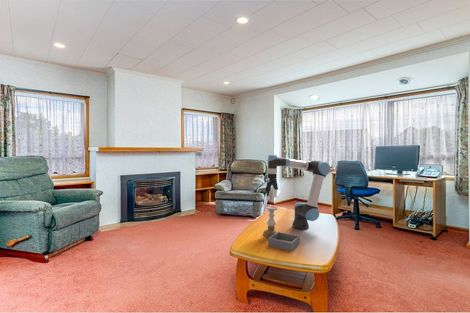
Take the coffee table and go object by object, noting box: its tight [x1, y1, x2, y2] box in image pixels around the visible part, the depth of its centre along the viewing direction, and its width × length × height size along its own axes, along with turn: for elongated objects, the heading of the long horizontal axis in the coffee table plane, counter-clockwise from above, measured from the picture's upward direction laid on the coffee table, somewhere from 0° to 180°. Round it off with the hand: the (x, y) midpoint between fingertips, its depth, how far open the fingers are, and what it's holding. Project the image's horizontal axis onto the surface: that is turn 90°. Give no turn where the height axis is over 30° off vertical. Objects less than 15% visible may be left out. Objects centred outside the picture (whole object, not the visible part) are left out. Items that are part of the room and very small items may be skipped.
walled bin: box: [267, 231, 301, 252], centre depth 195 cm, size 18×18×6 cm
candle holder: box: [262, 206, 279, 239], centre depth 214 cm, size 11×11×24 cm
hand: (271, 198), depth 214 cm, fingers open, 13 cm apart
